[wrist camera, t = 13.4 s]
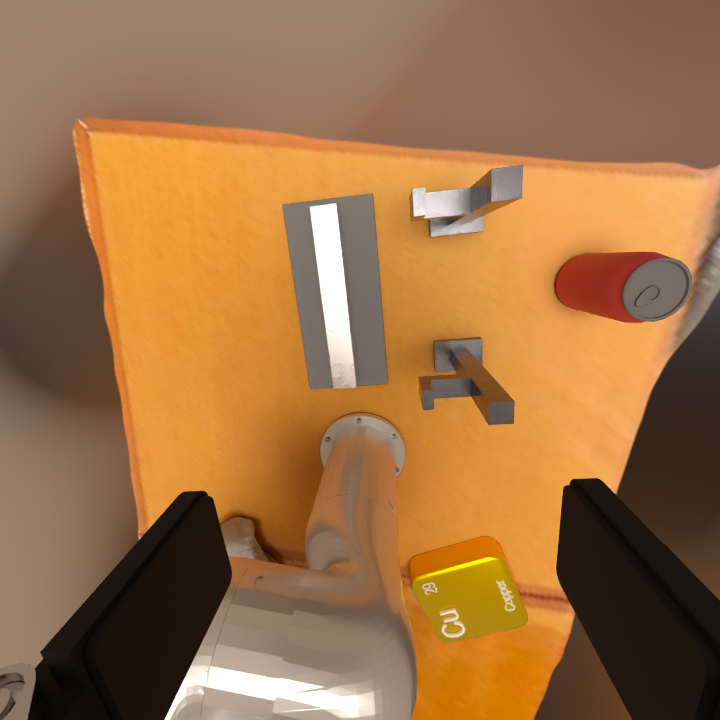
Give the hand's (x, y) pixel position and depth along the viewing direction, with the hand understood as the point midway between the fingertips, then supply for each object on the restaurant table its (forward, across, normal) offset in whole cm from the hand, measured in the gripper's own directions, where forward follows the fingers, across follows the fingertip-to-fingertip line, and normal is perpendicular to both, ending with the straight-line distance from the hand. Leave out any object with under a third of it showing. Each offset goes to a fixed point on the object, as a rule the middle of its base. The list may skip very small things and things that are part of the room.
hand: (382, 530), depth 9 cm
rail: (+36, +6, -2) cm, 36 cm away
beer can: (+36, -24, -2) cm, 44 cm away
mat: (+36, +6, -2) cm, 37 cm away
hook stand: (+36, -7, -3) cm, 37 cm away
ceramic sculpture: (+37, +26, +37) cm, 58 cm away
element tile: (+37, -10, +45) cm, 59 cm away
